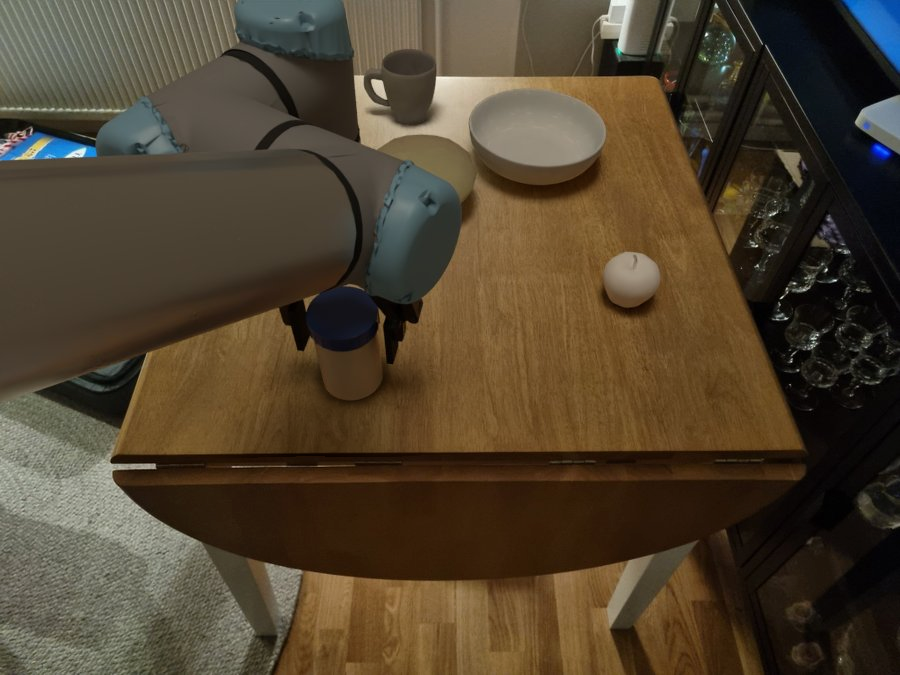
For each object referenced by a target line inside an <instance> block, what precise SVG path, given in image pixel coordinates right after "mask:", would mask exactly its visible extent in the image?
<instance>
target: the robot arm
mask: <svg viewBox="0 0 900 675" xmlns="http://www.w3.org/2000/svg"><path fill="white" fill-rule="evenodd" d="M233 9H234V10H233V14H234V20H235V28H234V32H235V33H236V36H237V39H238V40H239V42H237V43H236V44H235V45H233V46H232V47H230V48H228V49H227V50H225V51H223V52H222V53H221V54H220V55H219V56H217V57H216V58H214V59H212V60H210V61H208V62H206V63H204V64H203V65H201V66H199V67H196V68H195V69H193V70H191V71H189V72H188V73H186V74H184V75H182V76H181V77H179V78H177V79H175V80H173V81H171V82H169V83H168V84H166V85H164V86H161V87H160V88H158V89H156V90H155V91H153V92H151V93H149V94H147V95H143V96H141V97H139V98H138V99H137V101H136V102H135V103H134V104H133V105H131V106H130V107H128V108H127V109H125V110H123V111H122V112H121V113H119V114H117V115H116V116H115V117H113V118H112V119H110V120H109V121H107V122H106V123H104V124H103V125H102V126H101V127H100V129H98V132H97V135H96V138H95V145H94V146H95V154H96V156H75V157H73V156H72V157H51V158H49V157H47V158H25V159H1V160H0V404H3V403H6V402H9V401H13V400H15V399H18V398H21V397H24V396H27V395H29V394H33V393H35V392H38V391H41V390H44V389H47V388H50V387H53V386H55V385H59V384H61V383H65V382H68V381H70V380H73V379H76V378H78V377H81V376H85V375H87V374H91V373H94V372H96V371H100V370H101V369H105V368H109V367H110V366H111V367H112V366H113V365H117V364H119V363H123V362H126V361H128V360H131V359H134V358H136V357H140V356H142V355H145V354H148V353H151V352H154V351H157V350H160V349H163V348H167V347H169V346H171V345H174V344H177V343H180V342H183V341H186V340H189V339H192V338H195V337H199V336H200V335H204V334H206V333H209V332H212V331H216V330H217V329H221V328H224V327H226V326H229V325H232V324H235V323H238V322H241V321H244V320H247V319H249V318H252V317H256V316H259V315H262V314H264V313H267V312H270V311H273V310H276V309H279V313H280V316H281V320H282V323H283V324H284V325H285V326H287V327H290V328H291V332H292V335H293V340H294V343H295V347H296V350H297V351H299V352H305V350H306V347H307V346H308V342H309V340H310V338H311V336H310V332H308V328H307V320H306V312H307V308H306V304H305V299H308V298H310V297H315V296H317V295H318V294H320V293H323V292H326V291H329V290H333V289H336V288H339V287H342V286H348V285H352V286H357V287H358V288H359V289H362V290H364V291H365V292H366V293H367V294H368V295H369V297H370V298H371V299H372V300H373V302H374V303H375V304H376V305H377V307H378V309H379V311H380V312H381V314H383V316H384V319H383V320H384V321H383V325H382V330H383V341H384V352H385V360H386V365H392V366H394V364H395V360H396V357H397V354H398V349H399V346H400V345H399V343H403V341H404V339H405V335H406V333H407V322H408V323H409V324H412V325H416V324H419V321H420V317H421V314H422V310H423V307H424V301H423V298H424V297H425V296H427V295H428V294H429V293H430V291H432V290H433V289H434V288H435V287H436V285H437V284H438V282H440V280H441V278H442V277H443V275H444V274H445V272H446V271H447V269H448V266H449V265H450V263H451V262H452V259H453V256H454V253H455V251H456V247H457V244H458V241H459V237H460V234H461V229H462V222H463V208H462V206H463V205H462V203H461V201H460V198H459V195H458V193H457V191H456V190H455V189H454V187H453V186H452V185H451V184H450V183H449V182H447V181H445V180H444V179H442V178H440V177H438V176H436V175H434V174H432V173H430V172H428V171H426V170H424V169H422V168H420V167H418V166H416V165H415V164H414V163H413V162H412V161H410V160H408V159H406V160H405V161H403V160H401V159H398V158H395V157H393V156H390V155H388V154H385V153H383V152H380V151H378V150H377V149H376V148H372V147H370V146H368V145H365V144H362V138H361V134H360V127H359V126H360V125H359V119H358V118H359V117H358V108H357V107H358V106H357V97H356V83H355V73H354V72H355V70H354V69H355V68H354V57H355V50H354V48H353V45H352V40H351V35H350V29H349V24H348V18H347V12H346V8H345V5H344V2H343V0H237V1H236V2H235V5H234V8H233Z"/></svg>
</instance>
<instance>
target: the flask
mask: <svg viewBox="0 0 900 675" xmlns="http://www.w3.org/2000/svg"><path fill="white" fill-rule="evenodd" d="M376 150H378V151H380V152H383V153H385V154H388V155H390V156H393V157H395V158H398V159H401V160H403V161H405V160H406V159H408V160H410V161H412V162H413V163H414V164H415V165H416V166H418V167H420V168H422V169H424V170H426V171H428V172H430V173H432V174H434V175H436V176H438V177H440V178H442V179H444V180H445V181H447V182H449V183H450V184H451V185H452V186H453V187H454V189H455V190H456V191H457V193H458V195H459V198H460V201H461V204H462V203H463V202H464V201H465V200H467V198H468V197H469V196H470V194H471V192H472V191H473V189H474V186H475V183H476V179H477V175H478V174H477V170H476V167H475V164H474V162H473V159H472V157H471V154H470V152H469V151H468V150H466V149H465V148H464V147H462V146H461V145H459V143H457V142H455V141H454V140H451V139H450V138H448V137H443V136H439V135H433V134H421V133H420V134H409V135H403V136H402V135H401V136H398V137H395V138H392V139H391V140H390V141H388V142H386V143H385V144H383V145H382V146H381V147H379V148H377V149H376Z"/></svg>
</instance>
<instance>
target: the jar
mask: <svg viewBox="0 0 900 675" xmlns="http://www.w3.org/2000/svg"><path fill="white" fill-rule="evenodd" d="M313 344H314V348H315V352H316V357H317V361H318V365H319V369H320V375H321V377H322V383H323V386H324V388H325V390H326V391H327V392H328V393H329V394H330V395H331V396H333V397H335V398H337V399H339V400H342V401H358V400H363V399H365V398H367V397H369V396H371V395H372V394H374V393H375V392H376V390H378V388H380V385H381V383H382V381H383V376H384V373H383V363H382V353H381V345H380V344H381V343H380V335H379V330H378V331H377V333H376V335H375V337H374V338H373V339H372V340H371V341H370V342H369V343H367V344H366V345H364V346H362V347H361V348H358V349H355V350H352V351H344V352H338V351H331V350H328V349H325V348H323V347H321V346H320V345H318V344H316V342H315V341H314V340H313Z"/></svg>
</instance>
